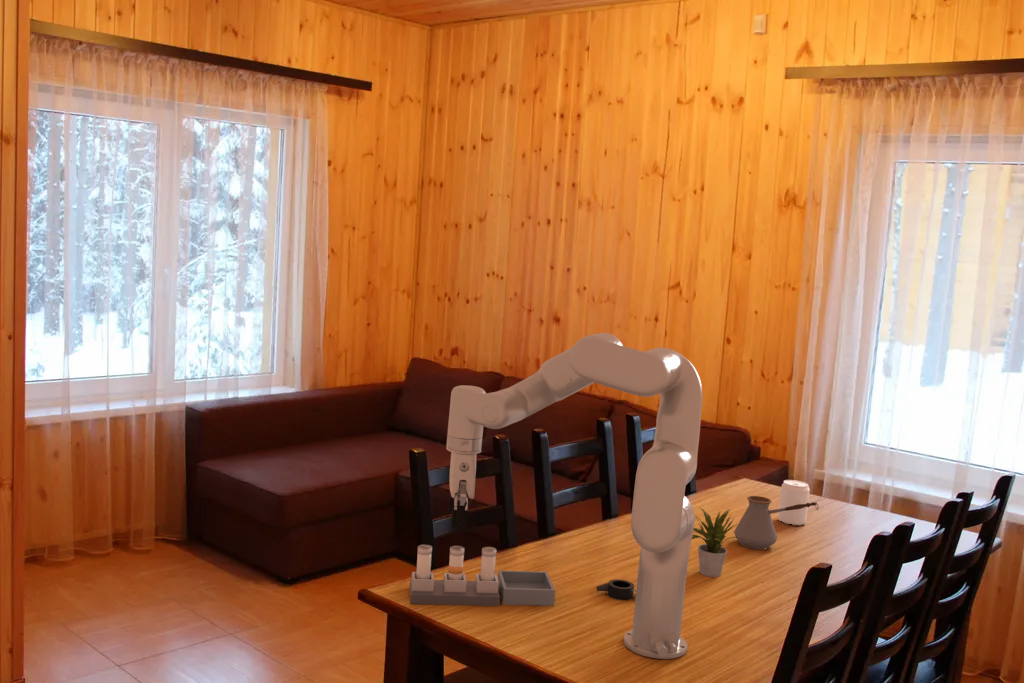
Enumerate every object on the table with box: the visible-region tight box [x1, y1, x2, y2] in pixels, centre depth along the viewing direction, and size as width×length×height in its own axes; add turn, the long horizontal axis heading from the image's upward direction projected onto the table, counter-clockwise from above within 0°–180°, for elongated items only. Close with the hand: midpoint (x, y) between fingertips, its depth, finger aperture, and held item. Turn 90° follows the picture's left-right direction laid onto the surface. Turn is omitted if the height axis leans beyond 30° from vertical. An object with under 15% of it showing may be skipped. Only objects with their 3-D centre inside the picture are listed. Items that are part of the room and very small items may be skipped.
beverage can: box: [777, 479, 811, 526], centre depth 291 cm, size 8×8×12 cm
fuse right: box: [480, 546, 497, 581], centre depth 214 cm, size 3×3×9 cm
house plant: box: [692, 506, 739, 578], centre depth 242 cm, size 14×14×16 cm
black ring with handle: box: [595, 578, 636, 601], centre depth 222 cm, size 8×10×3 cm
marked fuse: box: [447, 545, 465, 580], centre depth 213 cm, size 3×3×9 cm
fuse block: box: [409, 571, 501, 607], centre depth 213 cm, size 9×19×4 cm, turn 97°
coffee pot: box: [733, 495, 819, 550], centre depth 264 cm, size 21×12×15 cm, turn 61°
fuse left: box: [415, 544, 433, 579], centre depth 212 cm, size 3×3×9 cm
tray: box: [497, 569, 556, 607], centre depth 217 cm, size 11×11×4 cm
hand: (457, 520), depth 212 cm, fingers open, 9 cm apart
